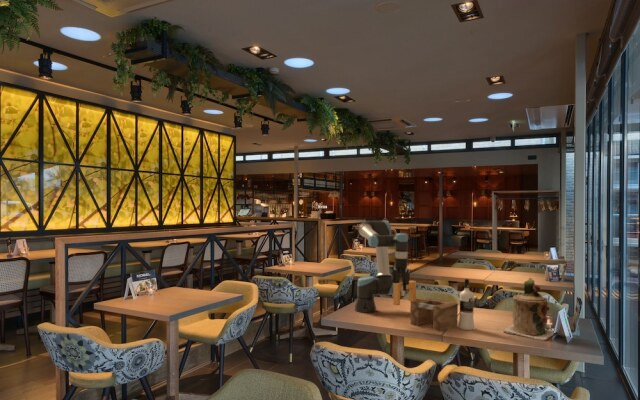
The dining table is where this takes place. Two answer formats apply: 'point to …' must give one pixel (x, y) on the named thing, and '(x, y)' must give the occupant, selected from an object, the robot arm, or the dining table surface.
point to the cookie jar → (530, 313)
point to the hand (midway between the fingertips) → (400, 294)
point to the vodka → (466, 308)
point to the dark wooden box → (434, 313)
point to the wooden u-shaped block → (398, 288)
